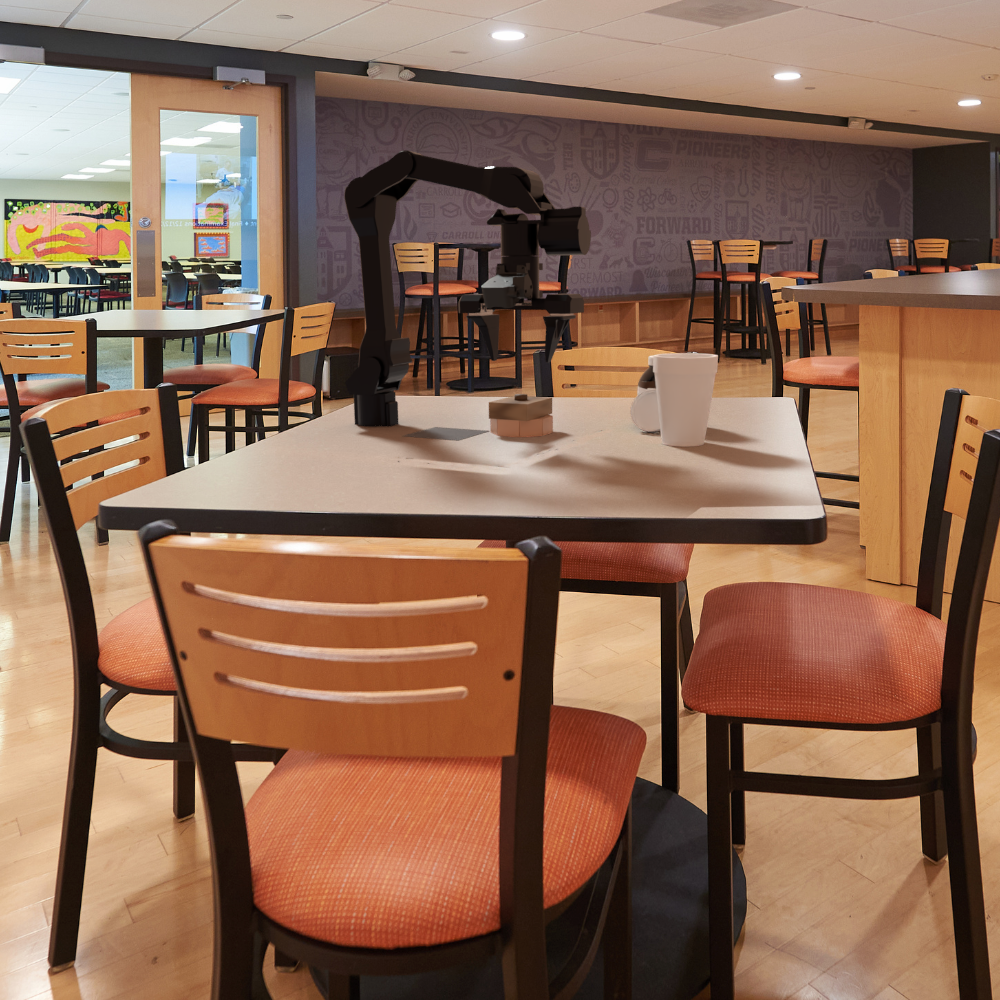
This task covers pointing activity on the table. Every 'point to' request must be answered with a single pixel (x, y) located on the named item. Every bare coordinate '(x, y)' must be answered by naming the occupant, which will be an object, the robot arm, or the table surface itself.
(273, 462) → the table surface
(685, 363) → the foam cup
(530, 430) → the bowl
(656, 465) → the table surface
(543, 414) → the lid
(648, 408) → the spread jar
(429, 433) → the mat
